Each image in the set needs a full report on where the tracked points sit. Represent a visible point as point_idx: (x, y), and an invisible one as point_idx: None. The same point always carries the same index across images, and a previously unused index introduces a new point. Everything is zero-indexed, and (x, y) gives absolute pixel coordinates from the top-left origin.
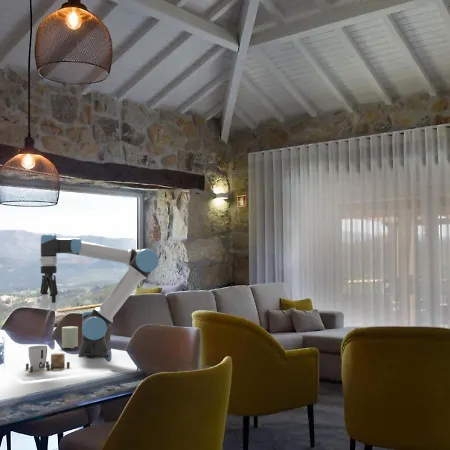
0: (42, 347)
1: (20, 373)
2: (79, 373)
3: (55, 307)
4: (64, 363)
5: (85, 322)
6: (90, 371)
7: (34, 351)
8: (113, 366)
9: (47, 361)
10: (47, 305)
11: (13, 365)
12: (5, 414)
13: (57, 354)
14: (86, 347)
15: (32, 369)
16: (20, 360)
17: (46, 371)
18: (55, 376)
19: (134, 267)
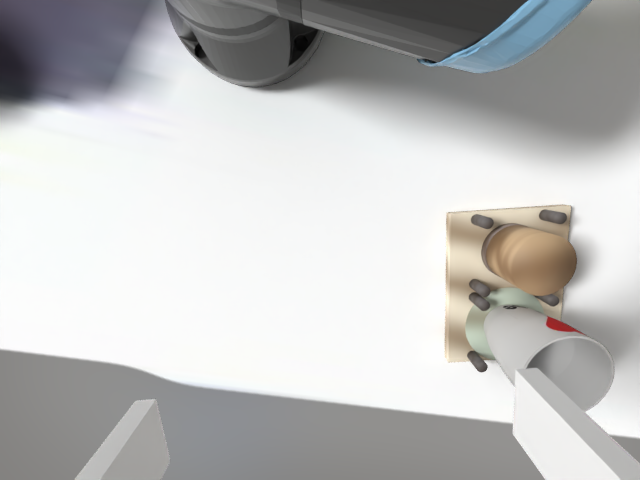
0: (533, 346)
1: (476, 372)
2: (626, 189)
3: (555, 393)
4: (529, 227)
5: (563, 27)
6: (620, 138)
7: (589, 389)
8: (587, 5)
9: (484, 291)
10: (140, 421)
11: (303, 370)
12: None
13: (551, 268)
14: (290, 38)
15: None
16: (202, 332)
17: (561, 304)
18: (614, 280)
19: None
